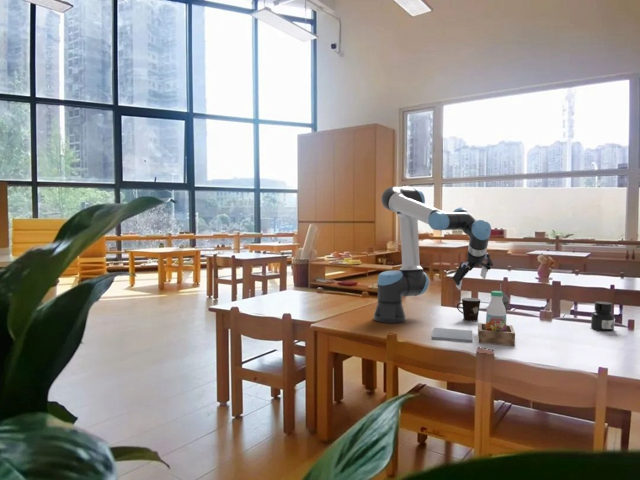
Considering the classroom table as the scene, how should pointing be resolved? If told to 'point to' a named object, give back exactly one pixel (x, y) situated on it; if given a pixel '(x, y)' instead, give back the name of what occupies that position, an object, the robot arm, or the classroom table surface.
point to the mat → (452, 335)
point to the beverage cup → (505, 300)
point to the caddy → (496, 335)
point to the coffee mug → (470, 308)
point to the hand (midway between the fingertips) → (470, 282)
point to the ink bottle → (602, 316)
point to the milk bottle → (496, 313)
